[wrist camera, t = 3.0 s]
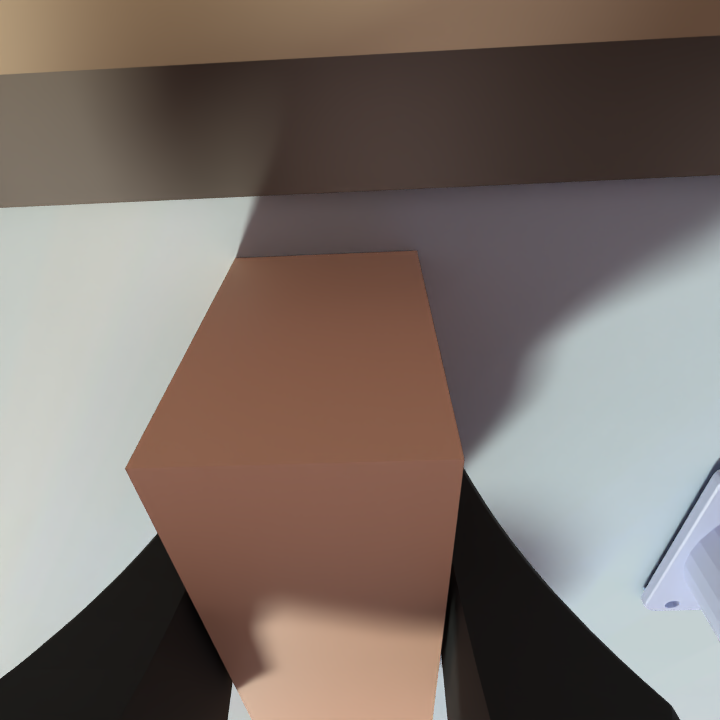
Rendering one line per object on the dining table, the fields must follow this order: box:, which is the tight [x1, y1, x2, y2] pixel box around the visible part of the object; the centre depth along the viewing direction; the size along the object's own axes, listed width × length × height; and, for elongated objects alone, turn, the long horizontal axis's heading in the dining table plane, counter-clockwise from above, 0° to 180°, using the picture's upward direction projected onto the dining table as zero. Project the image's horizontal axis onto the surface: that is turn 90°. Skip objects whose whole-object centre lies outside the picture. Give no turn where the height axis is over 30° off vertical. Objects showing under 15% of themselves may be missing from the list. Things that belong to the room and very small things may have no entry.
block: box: [125, 251, 464, 720], centre depth 11 cm, size 10×4×6 cm, turn 3°
